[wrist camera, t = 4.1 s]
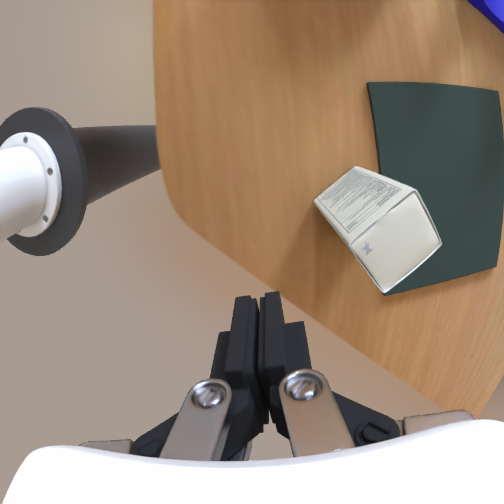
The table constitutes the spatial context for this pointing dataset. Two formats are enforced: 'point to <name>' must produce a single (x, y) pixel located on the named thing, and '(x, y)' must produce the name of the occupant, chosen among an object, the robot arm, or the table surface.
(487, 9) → the cable clip
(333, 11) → the table surface
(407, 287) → the mat
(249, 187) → the table surface
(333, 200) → the printed medicine box
